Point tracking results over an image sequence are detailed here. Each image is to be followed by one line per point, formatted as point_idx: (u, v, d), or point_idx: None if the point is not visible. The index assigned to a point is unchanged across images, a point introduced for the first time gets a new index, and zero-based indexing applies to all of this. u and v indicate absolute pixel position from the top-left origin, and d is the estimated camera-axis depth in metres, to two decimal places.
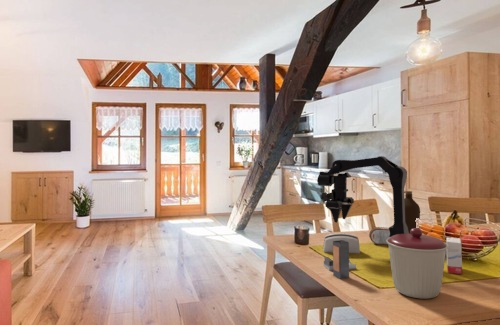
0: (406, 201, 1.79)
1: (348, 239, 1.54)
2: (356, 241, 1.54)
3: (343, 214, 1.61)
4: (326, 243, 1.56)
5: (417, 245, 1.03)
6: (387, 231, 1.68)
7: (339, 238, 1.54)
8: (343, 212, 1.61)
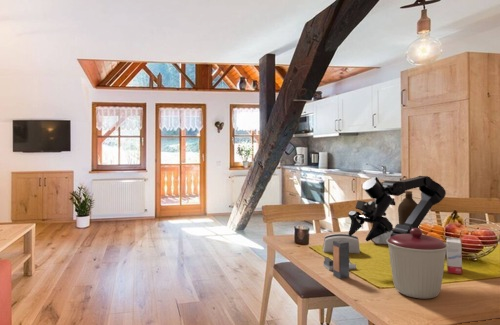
0: (406, 201, 1.79)
1: (348, 239, 1.54)
2: (356, 241, 1.54)
3: (352, 230, 1.34)
4: (326, 243, 1.56)
5: (417, 245, 1.03)
6: None
7: (339, 238, 1.54)
8: (353, 228, 1.34)
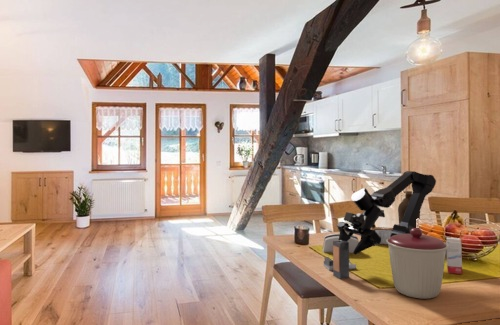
0: (406, 201, 1.79)
1: None
2: (356, 241, 1.54)
3: None
4: (326, 243, 1.56)
5: (417, 245, 1.03)
6: (387, 231, 1.68)
7: None
8: None
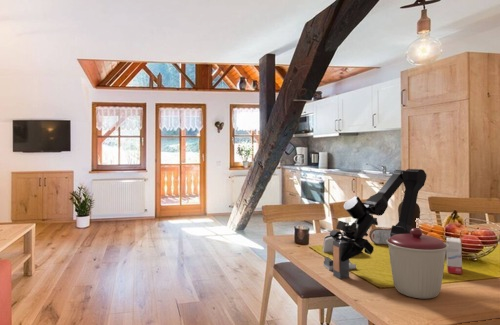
0: None
1: None
2: None
3: None
4: (326, 243, 1.56)
5: (417, 245, 1.03)
6: (387, 231, 1.68)
7: None
8: None
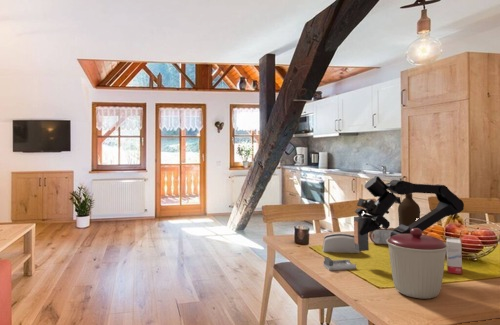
0: (406, 201, 1.79)
1: (348, 239, 1.54)
2: None
3: None
4: (326, 243, 1.57)
5: (417, 245, 1.03)
6: (387, 231, 1.68)
7: (339, 238, 1.55)
8: None
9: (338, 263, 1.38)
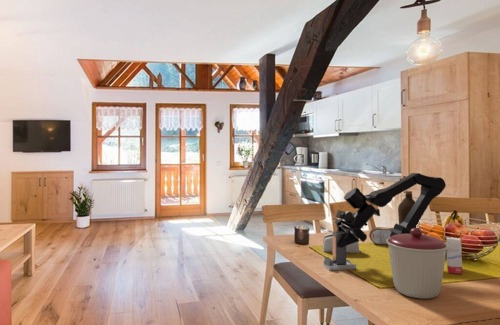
0: (406, 201, 1.79)
1: None
2: None
3: None
4: (325, 243, 1.57)
5: (417, 245, 1.03)
6: (387, 231, 1.68)
7: None
8: None
9: None
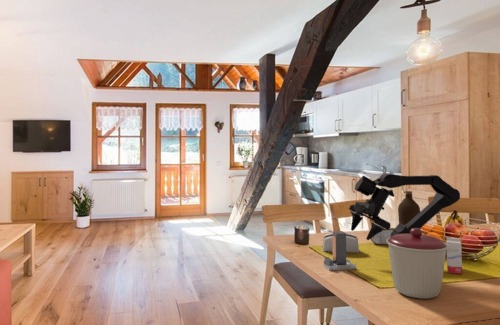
0: (406, 201, 1.79)
1: (347, 238, 1.55)
2: (355, 240, 1.55)
3: (354, 225, 1.44)
4: (325, 242, 1.57)
5: (417, 245, 1.03)
6: (387, 231, 1.68)
7: None
8: (354, 223, 1.44)
9: None
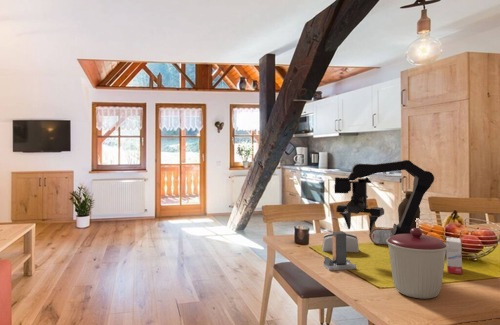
0: (406, 201, 1.79)
1: (347, 238, 1.55)
2: (355, 240, 1.55)
3: (349, 224, 1.46)
4: (325, 242, 1.58)
5: (417, 245, 1.03)
6: (387, 231, 1.68)
7: None
8: (348, 221, 1.46)
9: None
